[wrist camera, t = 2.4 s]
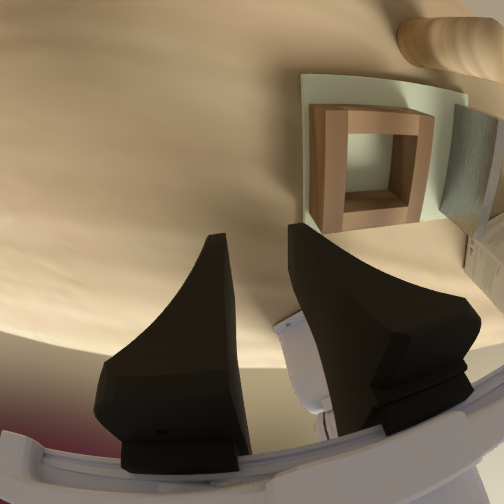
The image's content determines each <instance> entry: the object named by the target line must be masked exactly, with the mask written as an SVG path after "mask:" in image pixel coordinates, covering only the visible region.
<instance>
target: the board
mask: <svg viewBox="0 0 504 504" xmlns="http://www.w3.org/2000/svg"><path fill="white" fill-rule="evenodd" d="M300 81H301V106H302V145H303V223H305V224H307V225H308V226H310V227H311V228H313V229H314V230H315V231H317V232H318V233H320V234H322V233H321V231H320V230H319V228H318V227H317V225H316V224H315V222H314V220H313V219H312V217H311V216H310V214H309V171H310V155H309V104H359V105H377V106H391V107H402V108H411V109H414V110H417V111H420V112H423V113H426V114H428V115H431V116H434V117H435V123H434V134H433V143H432V152H431V159H430V166H429V173H428V179H427V185H426V191H425V197H424V202H423V207H422V212H421V217H420V221H428V220H436V219H445V218H447V217H446V216H445V215H444V214H443V213H441V212H440V211H439V208H440V203H441V199H442V194H443V189H444V184H445V178H446V172H447V166H448V160H449V153H450V146H451V138H452V129H453V119H454V106H455V104H460V105H465V106H468V94H464V93H460V92H456V91H452V90H448V89H443V88H438V87H433V86H428V85H423V84H417V83H411V82H405V81H398V80H390V79H382V78H373V77H362V76H349V75H330V74H300ZM392 146H393V134H348V150H347V171H346V188H345V193H347V192H360V191H373V190H388V185H389V176H390V167H391V157H392ZM420 221H419V222H420Z"/></svg>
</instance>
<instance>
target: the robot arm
mask: <svg viewBox="0 0 504 504" xmlns="http://www.w3.org/2000/svg"><path fill="white" fill-rule="evenodd" d="M288 271H289V275H290V278H291V282H292V286H293V289H294V292H295V295H296V297H297V299H298V302H299V304H300V307H301V309H302V310H301V311H300V312H298V313H296V314H294V315H293V316H291V317H289V318H287V319H286V320H284V321H282V322H280V323H278V324H277V325H275V326H274V330H275V332H276V333H277V334H278V335H279V339H280V343H281V346H282V350H283V354H284V358H285V362H286V366H287V369H288V373H289V377H290V380H291V383H292V386H293V389H294V391H295V393H296V395H297V397H298V399H299V400H300V402H301V404H302V405H303V406H304V407H305V409H307V411H309V412H310V413H312V414H317V413H318V415H317V418H316V421H315V424H314V432H315V438H316V442H317V443H313V444H309V445H305V446H300V447H295V448H290V449H285V450H279V451H274V452H267V453H261V454H254V455H252V450H251V444H250V438H249V432H248V426H247V420H246V414H245V407H244V401H243V395H242V389H241V382H240V374H239V367H238V360H237V347H236V314H235V296H234V289H233V281H232V274H231V267H230V261H229V253H228V246H227V239H226V233H220V234H213V235H209V236H208V237H207V238H206V241H205V243H204V246H203V248H202V251H201V253H200V255H199V257H198V259H197V261H196V263H195V265H194V267H193V269H192V271H191V272H190V274H189V276H188V277H187V279H186V281H185V282H184V284H183V285H182V287H181V288H180V290H179V291H178V293H177V294H176V296H175V297H174V298H173V300H172V301H171V302H170V303H169V305H168V306H167V307H166V308H165V309H164V311H163V312H162V313H161V314H160V315H159V316H158V317H157V319H156V320H155V321H154V322H153V323H152V324H151V325H150V326H149V327H148V328H147V329H146V330H145V331H143V332H142V333H141V334H140V335H139V336H138V337H137V338H136V339H134V340H133V341H132V342H131V343H130V344H128V345H127V346H126V347H125V348H123V349H122V350H121V351H119V352H118V353H117V354H115V355H114V356H113V357H111V358H110V359H109V360H107V361H106V362H104V365H103V369H102V372H101V374H100V378H99V382H98V387H97V392H96V398H95V404H94V414H95V417H96V418H97V419H98V421H99V422H100V423H101V424H102V425H103V426H104V427H105V428H106V429H107V430H109V431H110V432H111V433H112V434H113V435H114V436H115V437H117V438H118V439H119V440H120V441H121V442H122V449H121V459H115V458H105V457H96V456H88V455H81V454H74V453H68V452H62V451H57V450H52V449H47V448H43V446H42V445H40V444H39V443H38V442H36V441H35V440H33V439H31V438H29V437H26V436H24V435H20V434H16V433H13V432H9V431H4V430H3V431H2V434H1V438H0V498H1V499H3V500H5V501H7V502H9V503H11V504H490V502H489V499H488V496H487V494H486V491H485V488H484V485H483V483H482V480H481V478H480V475H479V473H478V470H477V468H476V465H477V464H478V463H479V462H480V461H481V460H482V458H483V456H485V455H486V454H487V453H489V452H490V451H492V450H493V449H494V448H496V447H497V446H498V445H500V444H501V443H502V442H503V441H504V365H503V366H501V367H500V368H498V369H497V370H495V371H493V372H491V373H490V374H488V375H486V376H485V377H483V378H481V379H479V380H478V381H476V382H474V383H472V384H471V383H470V382H469V380H468V378H467V376H466V375H465V373H464V372H465V371H466V370H467V364H466V363H465V361H464V360H463V358H464V357H465V355H466V354H467V352H468V351H469V349H470V348H471V346H472V344H473V343H474V341H475V340H476V338H477V336H478V334H479V332H480V328H481V318H480V317H479V315H478V314H477V313H476V311H475V310H474V309H473V307H472V306H471V305H470V304H469V302H468V301H467V300H466V299H465V298H463V297H459V296H454V295H450V294H445V293H441V292H437V291H433V290H430V289H427V288H423V287H420V286H417V285H414V284H411V283H409V282H406V281H404V280H401V279H399V278H396V277H394V276H391V275H389V274H387V273H384V272H382V271H380V270H378V269H376V268H374V267H372V266H370V265H368V264H366V263H365V262H363V261H361V260H359V259H358V258H356V257H354V256H353V255H351V254H349V253H348V252H346V251H345V250H343V249H341V248H340V247H338V246H337V245H335V244H334V243H332V242H331V241H330V240H328V239H327V238H325V237H324V236H322V235H321V234H320V233H318V232H317V231H315V230H314V229H313V228H311V227H310V226H308V225H307V224H305V223H297V224H289V225H288ZM287 323H288V324H287ZM269 479H270V480H269ZM263 480H266V481H263ZM255 481H261V482H256V483H251V484H245V485H239V486H233V487H226V488H219V487H217V486H216V485H227V484H238V483H247V482H255Z"/></svg>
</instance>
